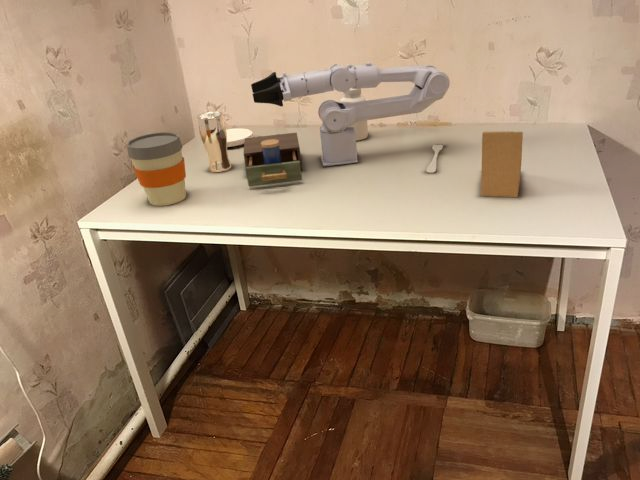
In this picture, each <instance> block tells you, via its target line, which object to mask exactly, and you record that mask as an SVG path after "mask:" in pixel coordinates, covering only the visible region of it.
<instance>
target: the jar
mask: <svg viewBox="0 0 640 480" xmlns="http://www.w3.org/2000/svg"><path fill="white" fill-rule="evenodd" d="M261 147H262V152H263V158H264V164H265V165H266V164H275V163H282V161H281V154H280V147H279V140H276V139H269V140H265V141H262V142H261Z"/></svg>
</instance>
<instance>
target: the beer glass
mask: <svg viewBox="0 0 640 480" xmlns="http://www.w3.org/2000/svg"><path fill="white" fill-rule="evenodd" d="M197 123H198V124H197V125H198V129H199V135H200V139H201V141H202V144H203V147H204V149H205V151H206V154H207V157H208V169H209V172H211V173H222V172H226V171H229V170H231V169H232V164H231V161H230V158H229V153H228V152H229V151H228V147H227V132H226V130H227V127H226V122H225V119H224V114H223V112H222V111H207V112H206V111H205V112H202V113H200V114H198V115H197Z"/></svg>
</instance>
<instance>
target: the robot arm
mask: <svg viewBox="0 0 640 480" xmlns="http://www.w3.org/2000/svg"><path fill="white" fill-rule="evenodd" d="M400 82H401V83H402V82H403V83H404V82H405V83H406V82H409V83H413V84H414V86H413V88H412V89H411V91H410V92H409V93H408V94H403V95H396V96H390V97H382V98H381V97H380V98H375V99H366V101H360V102H353V103H352V102H340V101H336V100H333V99H327V100H325V101H323V102H322V103H320V105H319V107H318V111H317V114H318V117H319V119H320V120H321V122H322V123H321V125H320V127H319V135H320V143H321V153H322V155H320V160H321V164H322V166H323V167H331V166H341V165H349V164H356V163H358V162H359V160H358V148H357V141H356V136H355V130H354V127H347V126H351V125H353V124H354V123H355V122H359V121H366V120H367V121H371V120H372V121H373V120H378V119H385V118H393V117H399V116H406V115H412V114H419V113H422V112H424V111H425V110H426V109H427V108H428V107H430V106H432V105H433V104H434V103H435V102H438V101H439V100H442V99H443V98H444V97H445V95H446V93H447V92H448V90H449V88H450V84H451V83H450V77H449V76H448V74H446V73H445V72H444V71H440V70H439V69H438V68H437V67H435V66H433V65H426V66H425V65H421V64H417V65H409V66H399V67H397V66H396V67H387V68H379V67H378V66H377V65H376V64H374V63H373V64H372V62H370V61H367V62H365V64H357V65H352V63H347V64H346V67H345V66H344V65H341V64H337V63H336V64H333V65H331V66H330V67H329V68H324V69H316V70H315V69H314V70H310V71H305V72H299V73H293V74H287V72H286V70H282V75H278V76H277V72H276V71H273V72H272V73H271V74H269V75H268V76H266V77H265V78H262V79H260V80H258V81H255V82H252V83H251V84H250V86H251V87H250V88H251V91H252V98H253V103H255V104H270V105H275V106H278V107H284V104H283V102H290V101H292V100H293V99H297V98H303V97H307V96H313V95H319V94H324V93H328V92H333V91H336V92H339V93H341V92H342V93H343V92H347V91H348V90H349V89H350V88H352V89H360V88H361V89H372V88H377V87H378V86H379V85H380V84H381V83H400Z"/></svg>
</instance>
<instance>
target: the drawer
mask: <svg viewBox="0 0 640 480" xmlns="http://www.w3.org/2000/svg"><path fill="white" fill-rule="evenodd" d="M280 154H281V161H282V163H275V164H266V165H265V164H264V158H263V154H260V155H252V156H249V167H246V166H245V173H246V178H247V184H248V185H247V186H248V187H257V186H264V185H272V184H274V185H275V184H281V183H289V182H297V181H303V177H302V171H301V168H300V161H297V160H296V154H295V150H294V151H286V152H280Z"/></svg>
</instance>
